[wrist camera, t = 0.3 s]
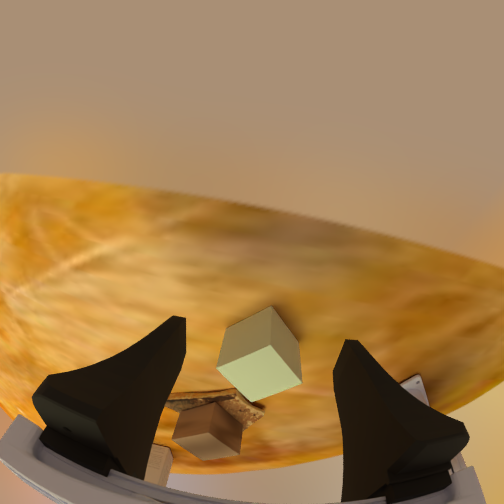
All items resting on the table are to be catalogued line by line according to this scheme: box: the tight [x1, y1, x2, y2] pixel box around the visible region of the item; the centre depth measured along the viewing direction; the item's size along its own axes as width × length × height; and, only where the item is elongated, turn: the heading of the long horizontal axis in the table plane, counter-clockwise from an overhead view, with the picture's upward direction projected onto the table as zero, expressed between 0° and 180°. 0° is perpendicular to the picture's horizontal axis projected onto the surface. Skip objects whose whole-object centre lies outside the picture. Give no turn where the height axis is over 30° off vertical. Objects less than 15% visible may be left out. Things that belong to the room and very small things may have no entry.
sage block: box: [216, 306, 302, 402], centre depth 21 cm, size 4×4×5 cm
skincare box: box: [144, 444, 173, 487], centre depth 28 cm, size 6×4×12 cm
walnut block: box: [172, 402, 243, 460], centre depth 25 cm, size 5×5×4 cm
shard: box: [165, 389, 265, 431], centre depth 27 cm, size 11×8×2 cm
